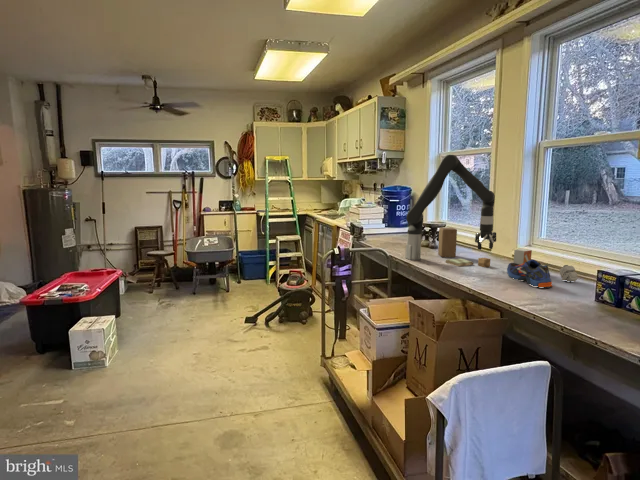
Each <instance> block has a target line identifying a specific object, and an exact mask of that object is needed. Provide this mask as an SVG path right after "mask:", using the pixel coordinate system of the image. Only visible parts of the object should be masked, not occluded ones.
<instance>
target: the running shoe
mask: <svg viewBox="0 0 640 480" xmlns="http://www.w3.org/2000/svg"><path fill="white" fill-rule="evenodd" d="M506 272H507V276H508V277H509V278H510V277H511V278H514V279H518V280H524V281H523V282H526V283H527V284H528V283H529V284H531V285H533V286H538V287H545V288H544V289H547V288H546V287H549V288H552V287H553V282H552V279H551V273H550V268H549V266H548V265H543V264H541V263H540V262H538V261H537V260H535V259H531V260H529V261H527V262H525V263H523V264H521V265H519V264H516V263H514V262H510V263H508V265H507V268H506ZM511 278H510V279H511ZM514 279H513V280H514ZM518 280H517V281H518Z"/></svg>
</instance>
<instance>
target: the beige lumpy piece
mask: <svg viewBox="0 0 640 480" xmlns="http://www.w3.org/2000/svg"><path fill="white" fill-rule="evenodd" d="M575 270H576V268H575V267H574V265H569V264H565V265H562V267H561V268H559V275H560V277H561V281H562V280H567V281H574V282H576V281H578V273H577V272H576V271H575Z"/></svg>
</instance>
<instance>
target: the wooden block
mask: <svg viewBox="0 0 640 480" xmlns="http://www.w3.org/2000/svg"><path fill="white" fill-rule="evenodd" d="M457 236H458V230H457V228H454V227H439V230H438V247H437V248H438V249H437V252H438V253H437V254H438V256H440V257H441V258H456V255H457Z"/></svg>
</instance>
